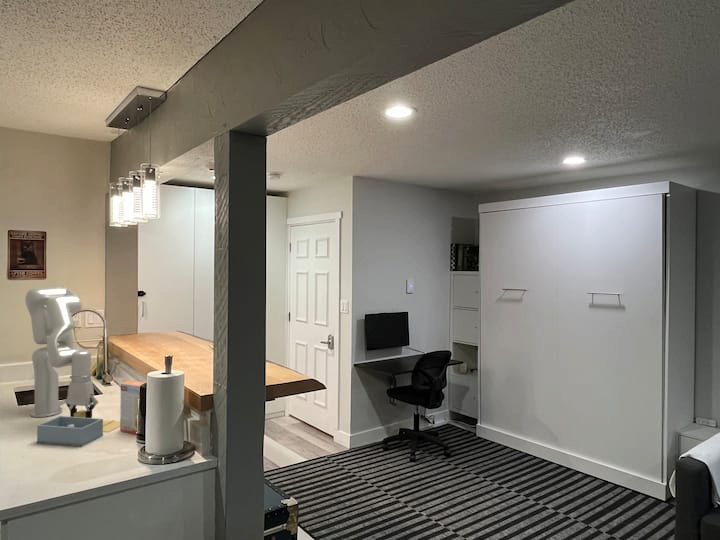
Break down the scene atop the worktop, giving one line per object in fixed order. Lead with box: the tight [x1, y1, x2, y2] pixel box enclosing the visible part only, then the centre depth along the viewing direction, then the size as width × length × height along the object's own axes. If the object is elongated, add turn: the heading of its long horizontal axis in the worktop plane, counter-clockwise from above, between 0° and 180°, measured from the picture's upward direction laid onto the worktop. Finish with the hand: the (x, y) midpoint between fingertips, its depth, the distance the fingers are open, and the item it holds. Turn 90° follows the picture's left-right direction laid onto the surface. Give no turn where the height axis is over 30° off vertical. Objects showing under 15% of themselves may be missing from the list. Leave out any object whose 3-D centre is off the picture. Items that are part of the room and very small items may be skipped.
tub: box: [36, 415, 104, 447], centre depth 197 cm, size 20×12×7 cm, turn 82°
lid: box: [74, 409, 120, 433], centre depth 213 cm, size 21×13×6 cm, turn 82°
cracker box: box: [119, 380, 145, 435], centre depth 206 cm, size 14×6×21 cm, turn 65°
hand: (81, 418), depth 214 cm, fingers open, 6 cm apart
